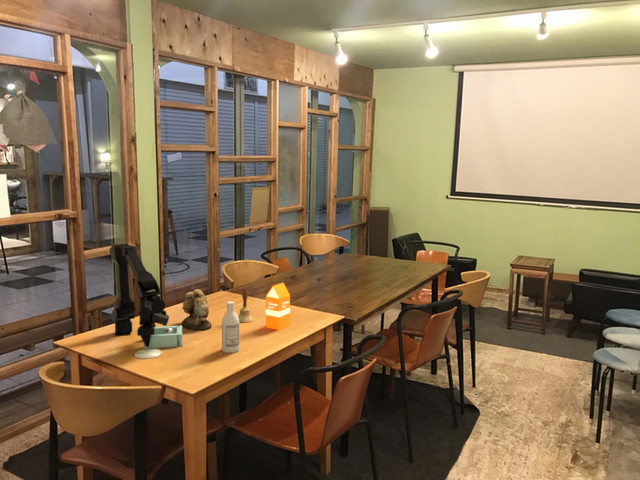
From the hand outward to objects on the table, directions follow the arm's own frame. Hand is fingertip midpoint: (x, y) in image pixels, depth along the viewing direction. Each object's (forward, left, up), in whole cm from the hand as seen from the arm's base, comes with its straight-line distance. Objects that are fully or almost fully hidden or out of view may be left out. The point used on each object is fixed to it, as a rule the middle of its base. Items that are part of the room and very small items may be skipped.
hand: (147, 345), depth 213 cm
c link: (+6, +5, -1) cm, 8 cm away
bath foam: (+33, -10, -1) cm, 34 cm away
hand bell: (+43, +29, -1) cm, 52 cm away
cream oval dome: (+1, -8, -1) cm, 8 cm away
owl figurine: (+20, +25, -1) cm, 32 cm away
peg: (+8, +6, -1) cm, 10 cm away
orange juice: (+57, +17, -1) cm, 59 cm away
